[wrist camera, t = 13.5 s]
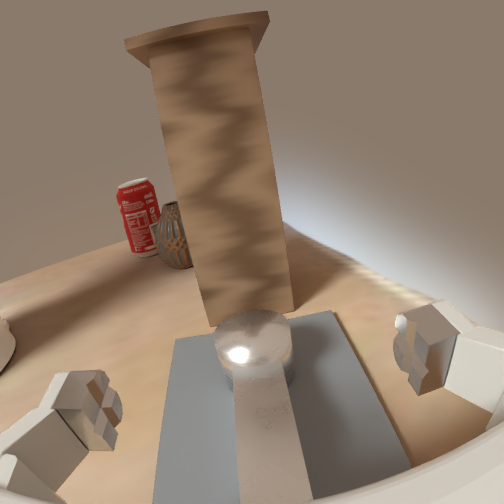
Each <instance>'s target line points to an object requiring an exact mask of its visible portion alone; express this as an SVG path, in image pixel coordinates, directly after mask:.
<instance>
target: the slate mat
mask: <svg viewBox="0 0 504 504" xmlns="http://www.w3.org/2000/svg"><path fill="white" fill-rule="evenodd" d="M288 322H289V325H290V332H291V339H292V347H293V355H294V363H295V377H294V380H293V382H292V383H291V385H290V386H289V387H288V392H289V396H290V401H291V405H292V409H293V414H294V418H295V422H296V427H297V431H298V435H299V440H300V444H301V448H302V453H303V457H304V461H305V466H306V470H307V474H308V479H309V483H310V487H311V492H312V496H313V500H315V499H319V498H324V497H328V496H331V495H335V494H339V493H343V492H346V491H350V490H353V489H356V488H360V487H363V486H366V485H369V484H372V483H375V482H378V481H381V480H384V479H386V478H389V477H392V476H394V475H397V474H400V473H402V472H405V471H407V470H410V469H412V468H413V467H412V465H411V463H410V461H409V459H408V457H407V455H406V453H405V451H404V449H403V446H402V444H401V442H400V440H399V438H398V436H397V434H396V432H395V430H394V428H393V426H392V424H391V422H390V420H389V418H388V416H387V414H386V412H385V410H384V409H383V407H382V405H381V403H380V401H379V399H378V397H377V395H376V393H375V391H374V389H373V387H372V385H371V383H370V381H369V379H368V378H367V376H366V374H365V372H364V370H363V368H362V366H361V364H360V362H359V361H358V359H357V357H356V355H355V353H354V351H353V349H352V348H351V346H350V344H349V342H348V340H347V338H346V336H345V335H344V333H343V331H342V329H341V327H340V325H339V324H338V322H337V320H336V318H335V316H334V315H333V313H332V311H331V310H329V311H325V312H320V313H316V314H311V315H307V316H302V317H297V318H292V319H288ZM213 335H214V333H212V334H206V335H200V336H194V337H187V338H181V339H176V340H175V346H174V351H173V357H172V363H171V369H170V375H169V381H168V387H167V394H166V400H165V407H164V413H163V420H162V427H161V435H160V442H159V450H158V458H157V466H156V475H155V484H154V493H153V503H152V504H240V492H239V478H238V463H237V447H236V430H235V412H234V393H233V392H232V391H231V390H230V389H229V387H228V385H227V382H226V379H225V376H224V373H223V370H222V366H221V363H220V360H219V357H218V353H217V350H216V347H215V344H214V340H213Z"/></svg>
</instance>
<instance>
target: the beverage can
mask: <svg viewBox="0 0 504 504" xmlns="http://www.w3.org/2000/svg"><path fill="white" fill-rule="evenodd" d="M118 188H119V190H118V193H117V196H116V197H117V201H118V205H119V209H120V212H121V216H122V219H123V223H124V227H125V230H126V234H127V237H128V240H129V244H130V247H131V250H132V252H133V253H135V254H136V255H138V256H139V257H148V256H152V255H155V254H157V253H158V250H157V247H156V244H155V228H156V225H157V223H158V220H159V218H160V216H161V214H160V210H159V206H158V202H157V198H156V194H155V190H154V186H153V185H152V184H151V183H150V182H149V181H148V178H141V179H137V180H133V181H130V182H127V183H124V184H122V185H119V186H118Z"/></svg>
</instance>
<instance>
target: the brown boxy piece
mask: <svg viewBox="0 0 504 504" xmlns="http://www.w3.org/2000/svg"><path fill="white" fill-rule="evenodd" d="M269 22H270V20H269V15H268V11H260V12H251V13H242V14H235V15H228V16H221V17H216V18H209V19H204V20H199V21H193V22H189V23H184V24H180V25H175V26H171V27H167V28H163V29H159V30H155V31H152V32H148V33H144V34H141V35H137V36H134V37H131V38H127V39H125V40H124V41H125V48H126V51H127V52H129V53H130V54H131V55H133V56H134V57H135V58H136V59H138V60H139V61H140V62H142V63H143V64H145V65H146V66H147V67H148V68H150V69H151V73H152V79H153V85H154V91H155V96H156V102H157V107H158V112H159V117H160V122H161V127H162V132H163V137H164V142H165V147H166V152H167V157H168V162H169V166H170V171H171V175H172V180H173V184H174V189H175V193H176V197H177V202H178V206H179V210H180V215H181V219H182V223H183V227H184V231H185V235H186V239H187V243H188V247H189V251H190V255H191V259H192V263H193V266H194V270H195V274H196V278H197V281H198V285H199V289H200V292H201V296H202V300H203V303H204V307H205V310H206V314H207V317H208V321H209V324H210V327H212V326H218V325H219V324H220V323H222V322H223V321H224V320H225V319H227V318H229V317H231V316H233V315H235V314H237V313H240V312H244V311H248V310H256V309H264V310H271V311H275V312H278V313H280V314H282V313H287V312H292V311H294V303H293V295H292V288H291V280H290V273H289V265H288V258H287V251H286V243H285V236H284V229H283V222H282V217H281V209H280V202H279V196H278V189H277V183H276V177H275V170H274V164H273V157H272V152H271V145H270V139H269V133H268V127H267V122H266V116H265V111H264V105H263V99H262V93H261V88H260V82H259V77H258V71H257V66H256V61H255V55H254V54H255V53H256V50H257V48H258V46H259V44H260V42H261V39H262V37H263V35H264V33H265V31H266V29H267V27H268V24H269Z"/></svg>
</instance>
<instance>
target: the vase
mask: <svg viewBox="0 0 504 504" xmlns="http://www.w3.org/2000/svg"><path fill="white" fill-rule="evenodd" d="M155 244H156V247H157V250H158V253H159V255H160V257H161V258H162V259H163V261H164V262H165V263H166V264H168V265H169V266H171V267H173V268H176V269H184V268H188V267H191V266H193V263H192V259H191V255H190V251H189V247H188V243H187V239H186V235H185V231H184V227H183V223H182V219H181V215H180V210H179V206H178V202H177V201H173V202H169V203H166V204H164V205H163V207H162V213H161V216H160V218H159V220H158V223H157V225H156V228H155Z"/></svg>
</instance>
